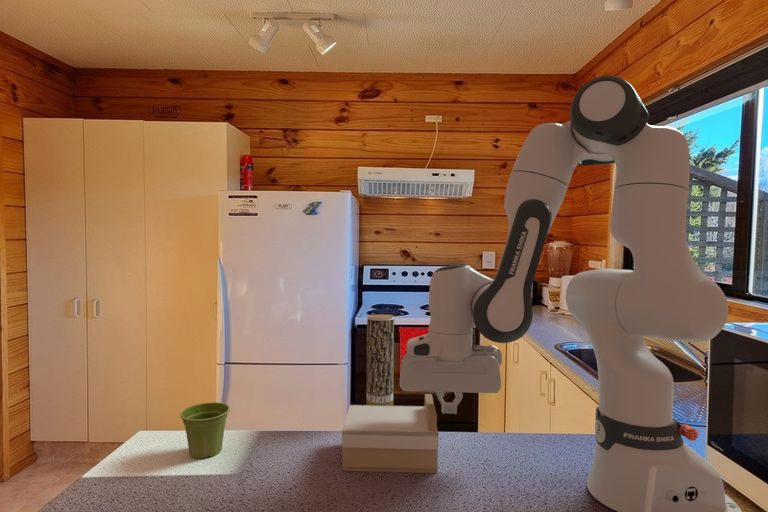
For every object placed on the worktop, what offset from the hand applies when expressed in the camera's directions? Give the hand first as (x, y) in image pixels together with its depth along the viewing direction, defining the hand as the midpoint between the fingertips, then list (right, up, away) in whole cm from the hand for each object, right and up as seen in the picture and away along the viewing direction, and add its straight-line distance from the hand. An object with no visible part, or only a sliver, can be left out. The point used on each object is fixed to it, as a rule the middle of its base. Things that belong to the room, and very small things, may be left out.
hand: (449, 412), depth 88 cm
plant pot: (-50, -9, +1) cm, 51 cm away
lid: (-12, -4, 0) cm, 13 cm away
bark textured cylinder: (-14, -9, +22) cm, 28 cm away
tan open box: (-12, -9, 0) cm, 15 cm away
